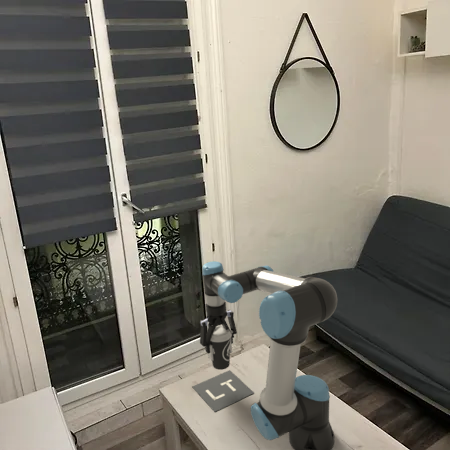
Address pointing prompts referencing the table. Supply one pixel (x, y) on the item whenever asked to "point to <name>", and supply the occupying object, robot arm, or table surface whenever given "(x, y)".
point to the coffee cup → (221, 347)
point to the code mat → (222, 390)
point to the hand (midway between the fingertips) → (220, 355)
